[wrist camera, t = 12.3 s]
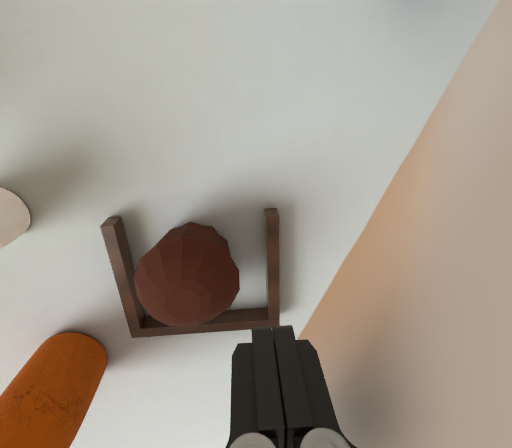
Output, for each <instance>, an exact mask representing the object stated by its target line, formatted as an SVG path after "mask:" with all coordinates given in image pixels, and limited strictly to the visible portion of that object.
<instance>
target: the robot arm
mask: <svg viewBox="0 0 512 448" xmlns="http://www.w3.org/2000/svg"><path fill="white" fill-rule="evenodd" d="M226 448H357V447H355V446H354V445H353V444H351V443H350V442H349V441H348V440H347V439H346V437H345V436H344V435H343V434H342V432H341V430H340V428H339V425H338V423H337V419H336V416H335V412H334V409H333V405H332V402H331V399H330V396H329V392H328V388H327V385H326V382H325V379H324V375H323V371H322V368H321V365H320V361H319V358H318V354H317V351H316V350H315V348H314V347H313V346H312V345H311V343H310V342H309V341H308V340H295V336H294V331H293V327H292V325H288V326H272V329H271V327H253V328H252V343H240V344H238V345H237V347H236V349H235V351H234V353H233V355H232V379H231V425H230V437H229V441H228V443H227V446H226Z"/></svg>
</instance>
